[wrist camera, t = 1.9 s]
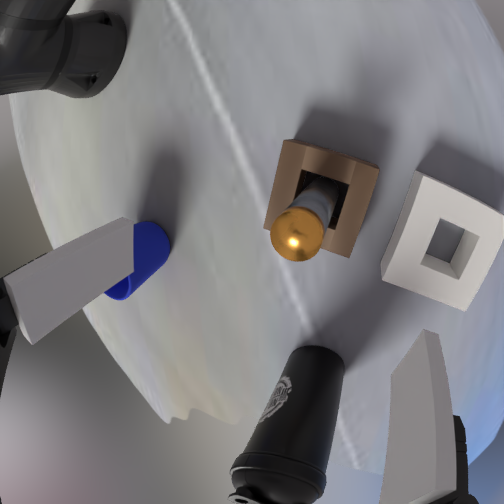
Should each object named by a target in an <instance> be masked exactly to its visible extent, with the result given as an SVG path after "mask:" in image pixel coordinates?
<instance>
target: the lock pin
mask: <svg viewBox="0 0 504 504" xmlns="http://www.w3.org/2000/svg"><path fill="white" fill-rule="evenodd" d="M338 196H339V189H338V186H337V184H336V183H335V181H333V180H332V179H331V178H328V177H318V178H316V179H315V180H313V181H312V182H311V183H310V185H309V186H308V187H307V188H306V189H305V190H304V191H303V192H302V193H301V194H300V195H299V196H298V197H297V198H296V199H295V200H294V201H293V202H292V203H291V204H290V205H289V206H288V207H287V208H286V209H285V210H284V211H283V212H282V213H281V214H280V215H279V216H278V217H277V218H276V220H275V221H274V222H273V224H272V227H271V231H270V238H271V242H272V245H273V247H274V248H275V250H276V251H277V252H278V253H279V254H280V255H281V256H283V257H284V258H286V259H288V260H291V261H305V260H308V259H310V258H312V257H313V256H315V255H316V254H317V252H318V251H319V249H320V247H321V244H322V242H323V239H324V236H325V233H326V231H327V228H328V225H329V222H330V219H331V216H332V214H333V211H334V208H335V205H336V202H337V199H338Z"/></svg>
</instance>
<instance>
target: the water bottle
mask: <svg viewBox="0 0 504 504" xmlns="http://www.w3.org/2000/svg"><path fill="white" fill-rule="evenodd" d="M343 376H344V363H343V360H342V359H341V357H340V356H339V355H338V354H337V353H335V352H334V351H332V350H330V349H328V348H325V347H321V346H304V347H301V348H299V349H297V350H295V351H294V352H293V353H292V354H291V355H290V357H289V359H288V361H287V364H286V366H285V368H284V370H283V372H282V375H281V377H280V379H279V381H278V383H277V385H276V387H275V389H274V391H273V393H272V395H271V397H270V400H269V402H268V404H267V406H266V408H265V410H264V412H263V414H262V416H261V418H260V420H259V422H258V424H257V426H256V429H255V431H254V433H253V435H252V437H251V438H250V440H249V442H248V444H247V446H246V448H245V450H244V452H243V453H242V454H240V455H239V457H237V458H236V460H235V462H234V464H233V465H232V468H231V469H230V475H231V476H232V483H233V485H234V487H235V489H236V492H235V493H232V494H230V495H229V497H228V499H229V500H230V501H231V502H233V503H236V504H312V503H314V502H315V501H316V500H317V499H319V498H320V497H321V496H322V494H323V493H324V489H325V486H326V475H325V473H326V468H327V464H328V460H329V455H330V451H331V446H332V441H333V436H334V431H335V426H336V421H337V415H338V409H339V403H340V397H341V390H342V383H343Z"/></svg>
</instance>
